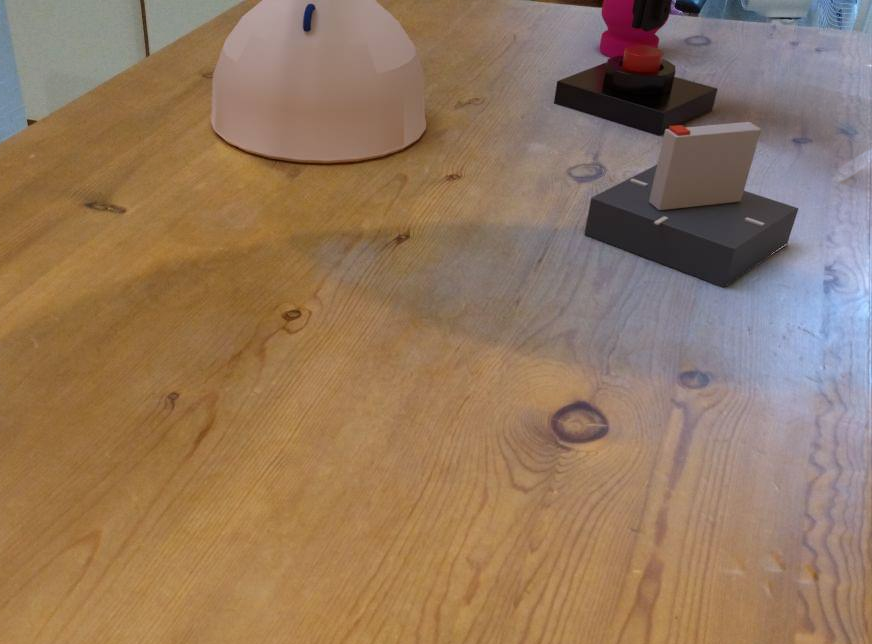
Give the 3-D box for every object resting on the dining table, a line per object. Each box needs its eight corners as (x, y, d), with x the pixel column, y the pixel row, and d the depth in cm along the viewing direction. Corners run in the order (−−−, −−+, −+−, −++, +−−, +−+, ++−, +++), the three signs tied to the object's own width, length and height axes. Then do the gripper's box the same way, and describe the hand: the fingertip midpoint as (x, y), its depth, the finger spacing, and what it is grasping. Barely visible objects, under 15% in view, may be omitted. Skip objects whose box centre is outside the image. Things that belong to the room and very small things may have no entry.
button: (666, 70, 102) (670, 51, 101) (646, 78, 100) (650, 58, 99) (634, 61, 104) (637, 42, 103) (614, 69, 102) (617, 50, 101)
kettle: (437, 95, 106) (454, -114, 94) (412, 174, 91) (430, -63, 79) (240, 79, 109) (233, -127, 97) (183, 154, 93) (167, -80, 81)
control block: (712, 111, 104) (723, 68, 102) (659, 136, 99) (669, 92, 96) (608, 81, 111) (616, 40, 108) (553, 103, 105) (559, 61, 102)
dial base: (790, 242, 82) (803, 203, 80) (719, 290, 76) (731, 249, 74) (655, 196, 88) (663, 159, 86) (579, 236, 82) (586, 197, 80)
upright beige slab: (729, 193, 82) (750, 117, 78) (740, 202, 80) (762, 125, 77) (648, 202, 80) (665, 125, 76) (658, 210, 79) (676, 133, 75)
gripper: (802, -203, 86) (738, 37, 98) (642, -222, 94) (602, 3, 106) (758, -196, 82) (698, 54, 94) (595, -217, 90) (559, 17, 102)
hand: (647, 26), depth 100 cm, fingers closed
